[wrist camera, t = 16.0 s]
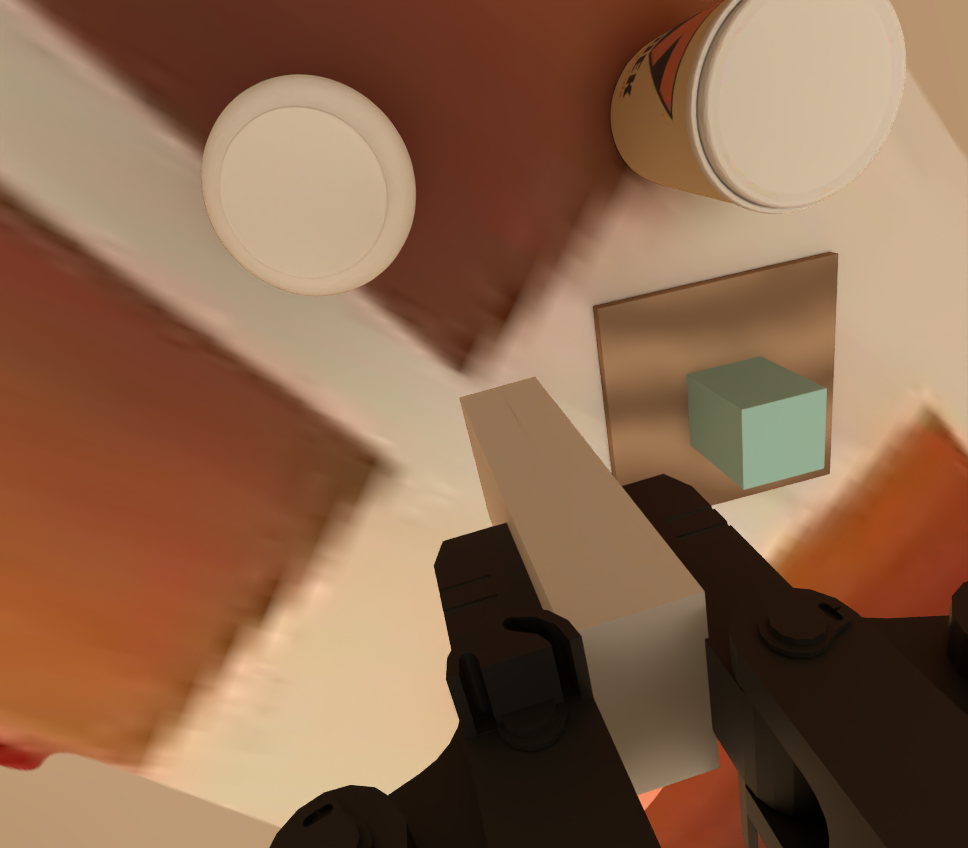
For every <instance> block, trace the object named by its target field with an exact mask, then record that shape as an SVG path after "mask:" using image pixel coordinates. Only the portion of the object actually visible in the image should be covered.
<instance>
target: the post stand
mask: <svg viewBox="0 0 968 848" xmlns="http://www.w3.org/2000/svg"><path fill="white" fill-rule="evenodd" d="M837 272H838V253H832V252H827V253H823V254H819V255H814V256H810V257H806V258H801V259H797V260H793V261H788V262H784V263H780V264H775V265H771V266H767V267H762V268H758V269H754V270H749V271H745V272H740V273H736V274H732V275H727V276H723V277H719V278H714V279H710V280H706V281H701V282H697V283H693V284H688V285H684V286H680V287H675V288H671V289H667V290H662V291H658V292H653V293H649V294H645V295H640V296H636V297H632V298H627V299H623V300H619V301H614V302H610V303H606V304H601V305H597V306H593V310H594V318H595V327H596V336H597V345H598V353H599V362H600V371H601V380H602V388H603V397H604V406H605V415H606V423H607V432H608V441H609V450H610V458H611V467H612V475H613V476H614V477H615V479H616V480H617V481H618V482H619V484H620V485H621V486H624V485H627V484H630V483H634V482H637V481H640V480H644V479H647V478H651V477H654V476H657V475H661V474H665V475H668V476H670V477H672V478H675V479H677V480H679V481H681V482H684V483H686V484H688V485H691V486H692V487H693V488H694V489H695V490H696V491H697V492H698V493H699V494H700V495H701V496H702V497H703V498H704V499H705V500H706V501H707V502H708V503H709V504H710V505H715V504H719V503H723V502H726V501H730V500H734V499H738V498H741V497H745V496H749V495H753V494H756V493H760V492H764V491H768V490H771V489H775V488H779V487H783V486H786V485H790V484H794V483H797V482H801V481H805V480H809V479H812V478H816V477H820V476H824V475H827V474H830V455H831V429H832V403H833V377H834V351H835V325H836V298H837ZM759 356H761V357H764V358H766V359H768V360H770V361H772V362H774V363H776V364H778V365H780V366H782V367H784V368H786V369H788V370H790V371H792V372H794V373H797V374H799V375H801V376H803V377H805V378H807V379H809V380H811V381H813V382H815V383H817V384H819V385H821V386H823V387H825V388H827V399H826V429H825V459H824V469H820V470H816V471H813V472H809V473H805V474H801V475H798V476H794V477H790V478H786V479H783V480H779V481H775V482H771V483H768V484H764V485H760V486H756V487H753V488H749V489H745V490H743V489H742V488H741V487H739V486H738V485H737V484H736V483H735V482H734V481H732V480H731V479H730V478H729V477H728V476H726V475H725V474H724V473H723V472H722V471H721V470H719V469H718V468H717V467H716V466H715V465H713V464H712V463H711V462H710V461H709V460H708V459H706V458H705V457H704V456H703V455H702V454H700V453H699V452H698V451H697V450H696V449H695V448H693V447H692V446H691V443H690V426H689V409H688V393H687V376H686V374H689V373H693V372H697V371H702V370H706V369H710V368H714V367H718V366H722V365H726V364H730V363H734V362H738V361H742V360H746V359H750V358H754V357H759Z"/></svg>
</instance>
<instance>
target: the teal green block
mask: <svg viewBox="0 0 968 848" xmlns="http://www.w3.org/2000/svg"><path fill="white" fill-rule="evenodd" d="M686 376H687V393H688V409H689V426H690V443H691V446H692V447H693V448H695V449H696V450H697V451H698V452H699V453H700V454H702V455H703V456H704V457H705V458H706V459H708V460H709V461H710V462H711V463H712V464H713V465H715V466H716V467H717V468H718V469H719V470H721V471H722V472H723V473H724V474H725V475H726V476H728V477H729V478H730V479H731V480H732V481H734V482H735V483H736V484H737V485H738V486H739V487H741V488H742V489H743V490H745V489H749V488H753V487H756V486H760V485H764V484H768V483H771V482H775V481H779V480H783V479H786V478H790V477H794V476H798V475H801V474H805V473H809V472H813V471H816V470H820V469H824V459H825V429H826V399H827V388H825V387H823V386H821V385H819V384H817V383H815V382H813V381H811V380H809V379H807V378H805V377H803V376H801V375H799V374H797V373H794V372H792V371H790V370H788V369H786V368H784V367H782V366H780V365H778V364H776V363H774V362H772V361H770V360H768V359H766V358H764V357H761V356H759V357H754V358H750V359H746V360H742V361H738V362H734V363H730V364H726V365H722V366H718V367H714V368H710V369H706V370H702V371H697V372H693V373H689V374H686Z"/></svg>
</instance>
